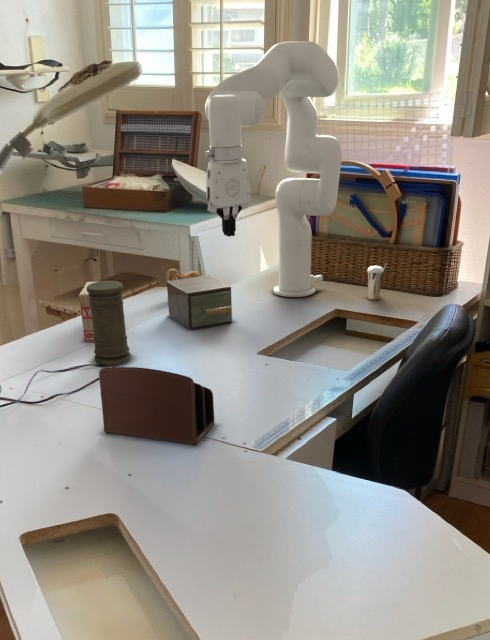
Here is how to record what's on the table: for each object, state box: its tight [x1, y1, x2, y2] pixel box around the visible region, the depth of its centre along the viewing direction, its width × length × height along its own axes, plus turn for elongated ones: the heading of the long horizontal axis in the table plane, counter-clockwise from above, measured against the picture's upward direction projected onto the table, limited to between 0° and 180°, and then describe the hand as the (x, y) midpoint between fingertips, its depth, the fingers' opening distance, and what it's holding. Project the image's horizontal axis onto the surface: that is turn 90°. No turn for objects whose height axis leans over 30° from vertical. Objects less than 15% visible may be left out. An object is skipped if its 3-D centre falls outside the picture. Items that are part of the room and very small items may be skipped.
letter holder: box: [98, 366, 215, 446], centre depth 158 cm, size 10×20×14 cm, turn 69°
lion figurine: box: [165, 267, 202, 282], centre depth 243 cm, size 15×5×9 cm, turn 136°
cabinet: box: [166, 274, 233, 330], centre depth 222 cm, size 15×13×10 cm
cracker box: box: [78, 281, 96, 343], centre depth 216 cm, size 21×6×12 cm, turn 179°
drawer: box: [190, 290, 233, 327], centre depth 219 cm, size 18×11×8 cm, turn 25°
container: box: [87, 280, 132, 367], centre depth 193 cm, size 9×9×18 cm
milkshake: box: [366, 262, 388, 301], centre depth 234 cm, size 4×5×10 cm
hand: (229, 235), depth 202 cm, fingers closed
